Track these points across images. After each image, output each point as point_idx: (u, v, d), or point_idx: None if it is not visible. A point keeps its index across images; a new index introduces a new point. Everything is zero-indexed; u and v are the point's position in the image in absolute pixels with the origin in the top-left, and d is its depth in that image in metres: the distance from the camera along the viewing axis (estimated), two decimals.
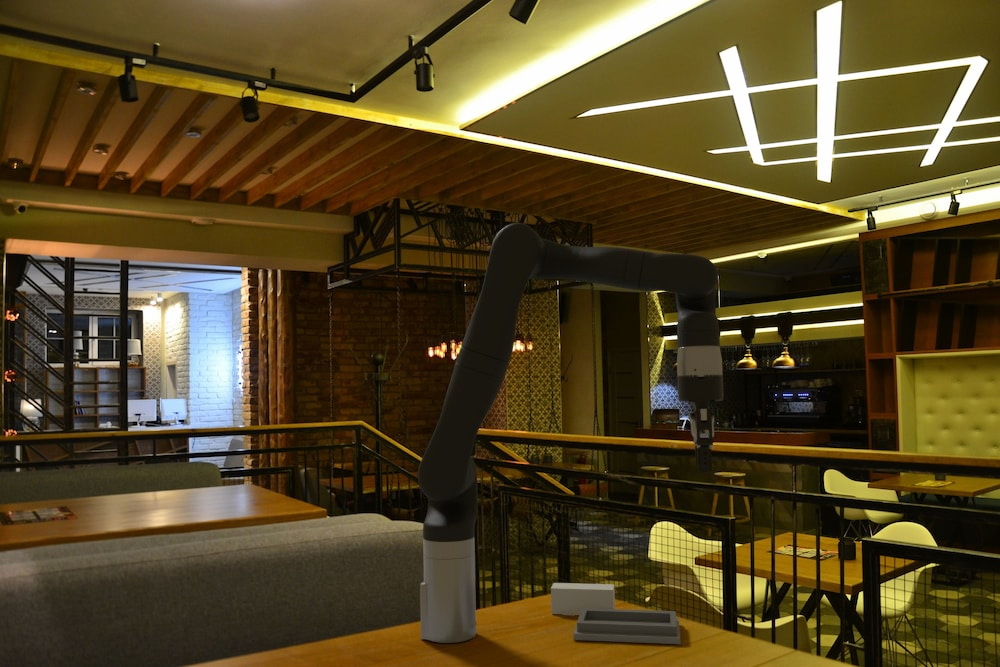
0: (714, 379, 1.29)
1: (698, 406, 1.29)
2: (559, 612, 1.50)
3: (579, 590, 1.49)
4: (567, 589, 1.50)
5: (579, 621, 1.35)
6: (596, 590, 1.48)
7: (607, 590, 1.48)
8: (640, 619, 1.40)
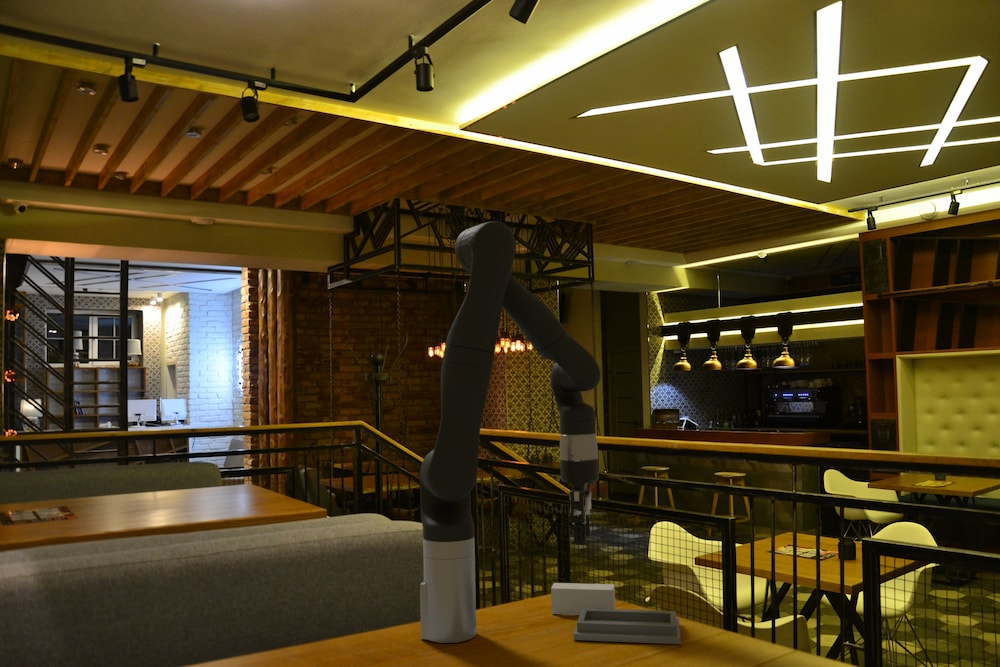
0: (588, 463, 1.50)
1: (574, 487, 1.49)
2: (559, 612, 1.50)
3: (579, 590, 1.49)
4: (567, 589, 1.50)
5: (579, 621, 1.35)
6: (596, 590, 1.48)
7: (607, 590, 1.48)
8: (640, 619, 1.40)
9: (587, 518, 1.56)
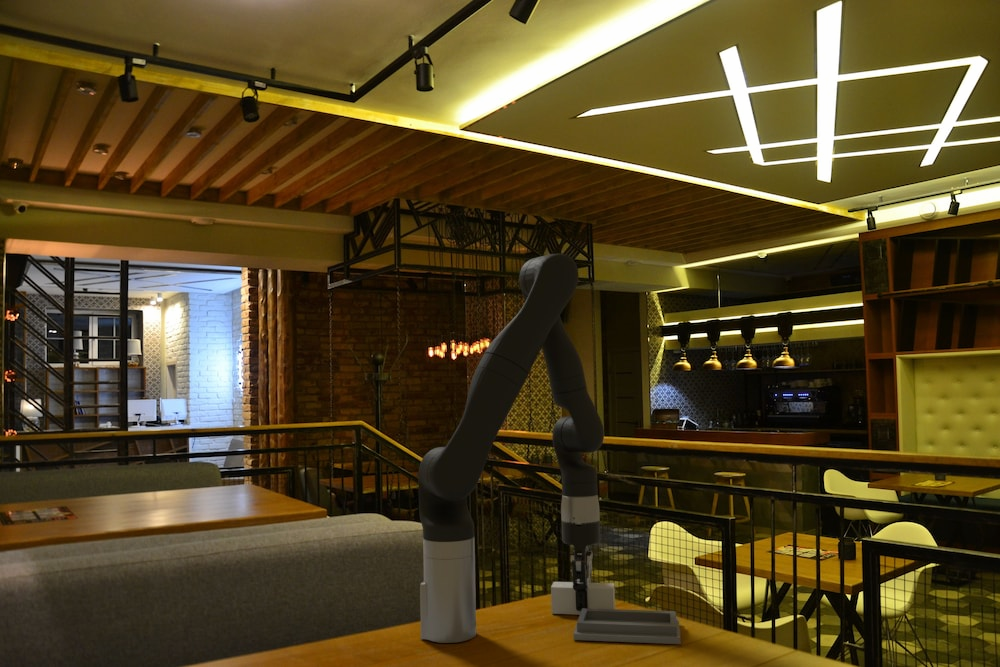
0: (590, 526, 1.49)
1: (576, 550, 1.48)
2: (559, 611, 1.50)
3: None
4: (567, 588, 1.50)
5: (579, 621, 1.35)
6: (596, 589, 1.49)
7: (607, 589, 1.48)
8: (640, 619, 1.40)
9: None
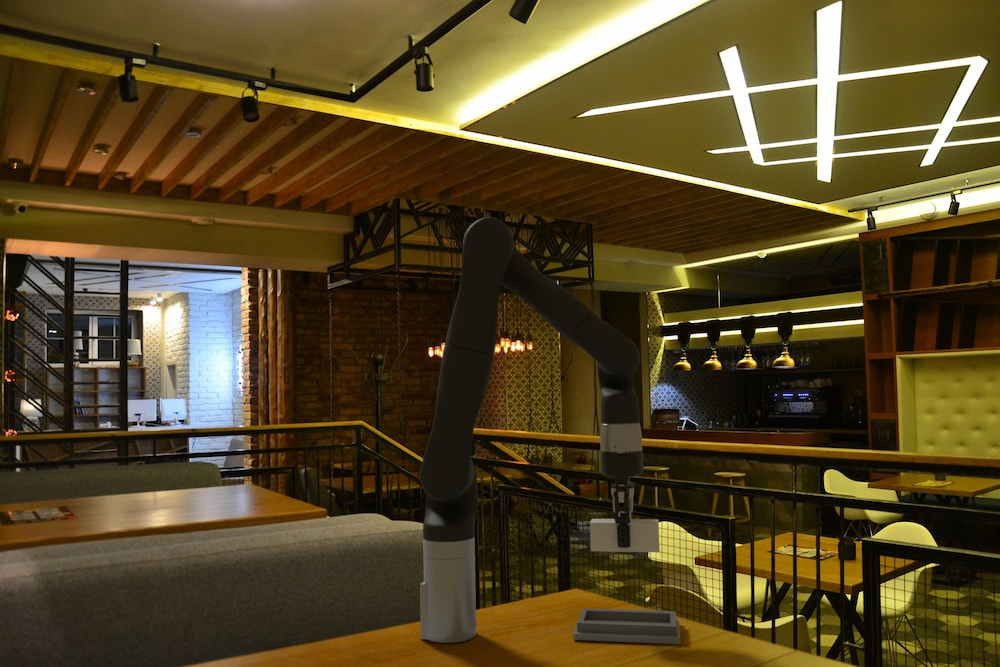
0: (633, 455, 1.37)
1: (617, 481, 1.36)
2: (599, 548, 1.37)
3: None
4: (608, 523, 1.37)
5: (579, 621, 1.35)
6: (640, 524, 1.36)
7: (652, 524, 1.36)
8: (640, 619, 1.40)
9: None
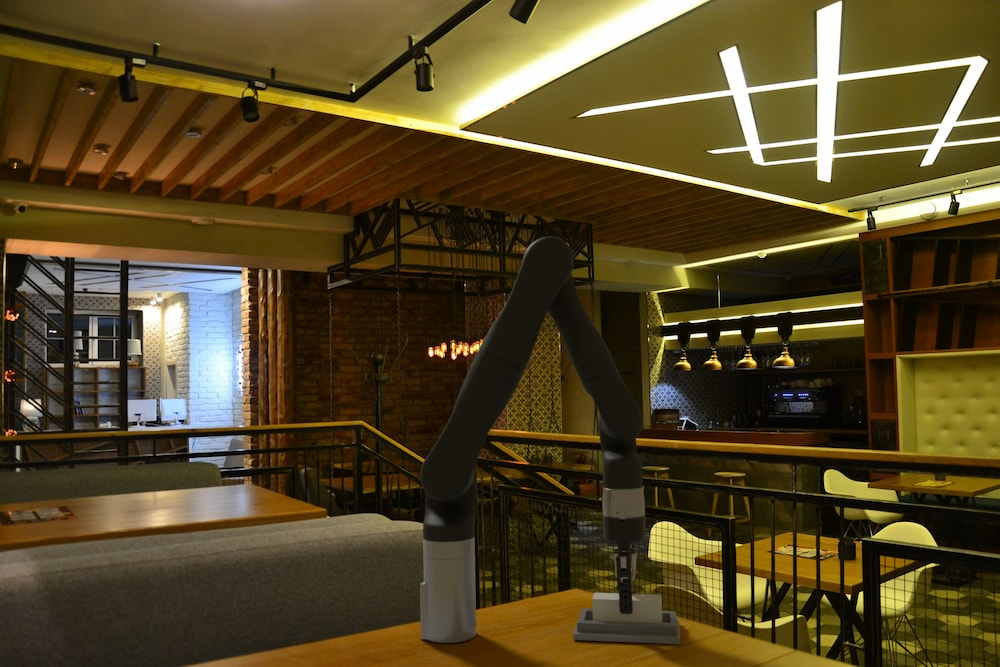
0: (635, 521, 1.36)
1: (620, 548, 1.35)
2: None
3: None
4: (610, 600, 1.36)
5: (579, 621, 1.35)
6: (642, 601, 1.35)
7: (655, 601, 1.35)
8: None
9: None
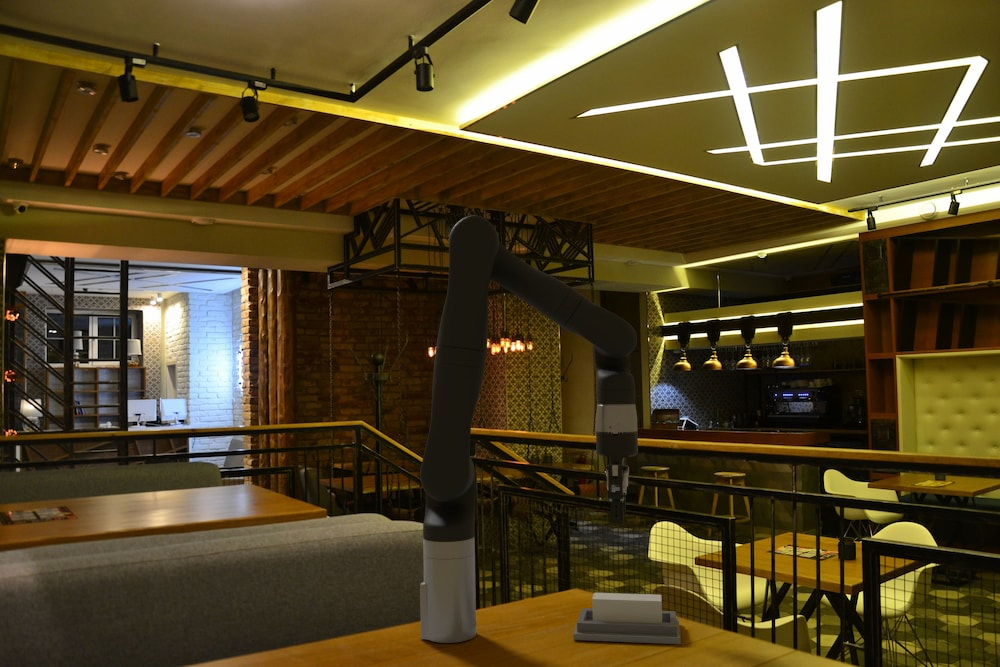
0: (628, 436, 1.38)
1: (612, 461, 1.37)
2: None
3: (624, 601, 1.36)
4: (610, 600, 1.36)
5: (579, 621, 1.35)
6: (642, 601, 1.35)
7: (655, 601, 1.35)
8: None
9: (623, 496, 1.44)
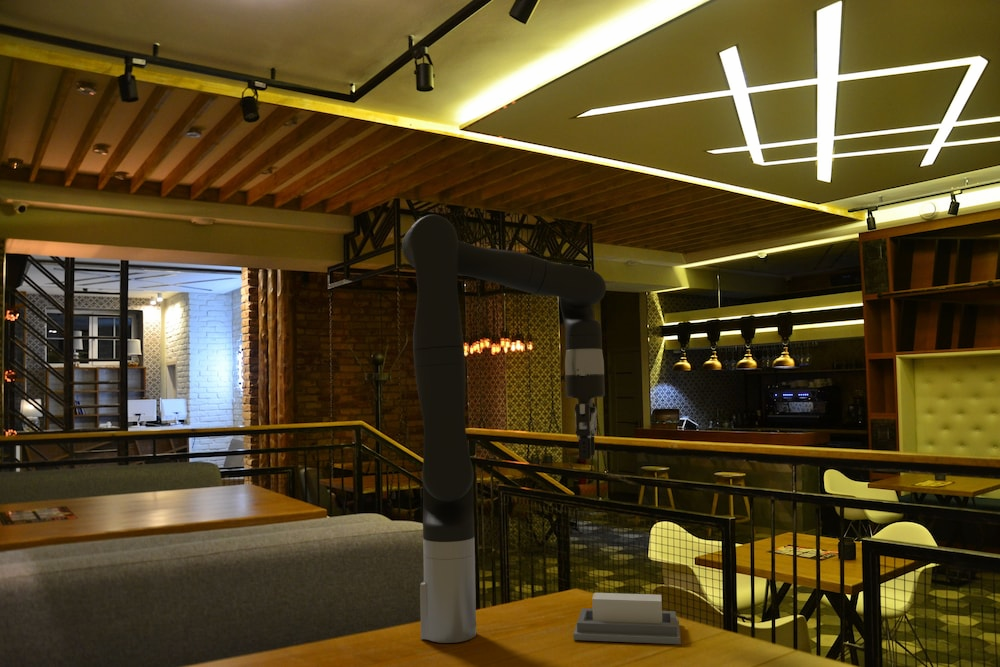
0: (594, 378, 1.47)
1: (580, 402, 1.46)
2: None
3: (624, 601, 1.36)
4: (610, 600, 1.36)
5: (579, 621, 1.35)
6: (642, 601, 1.35)
7: (655, 601, 1.35)
8: None
9: (592, 437, 1.53)
